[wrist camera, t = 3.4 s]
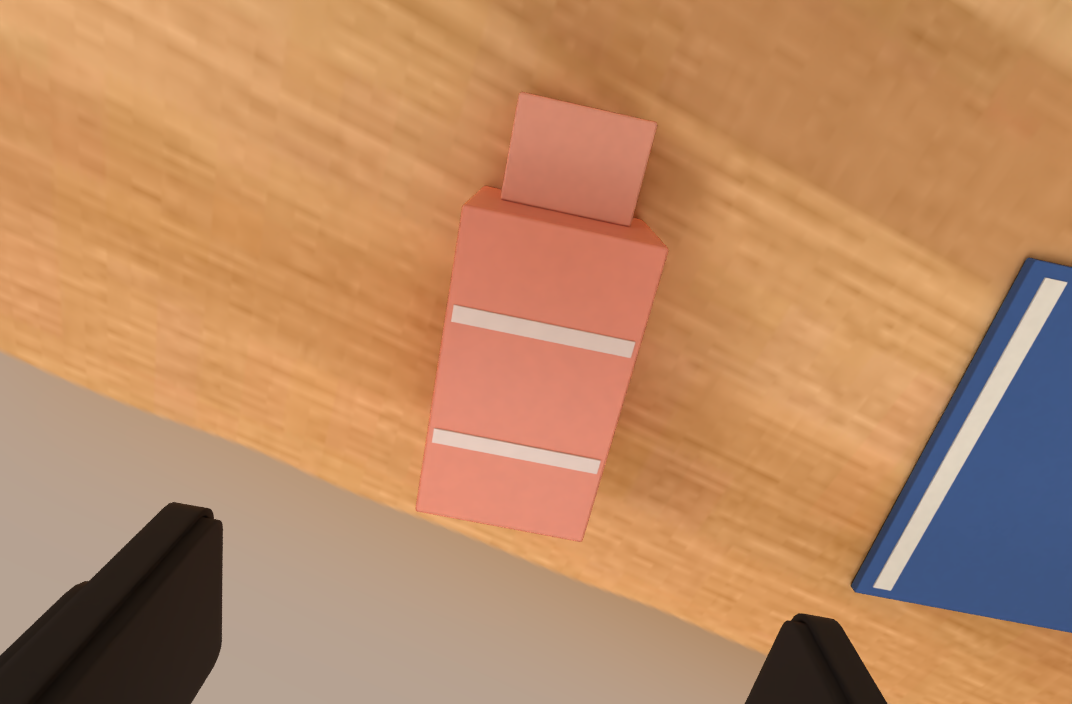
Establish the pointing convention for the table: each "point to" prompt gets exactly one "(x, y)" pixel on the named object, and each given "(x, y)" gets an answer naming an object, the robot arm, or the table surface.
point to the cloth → (994, 475)
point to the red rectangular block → (542, 323)
